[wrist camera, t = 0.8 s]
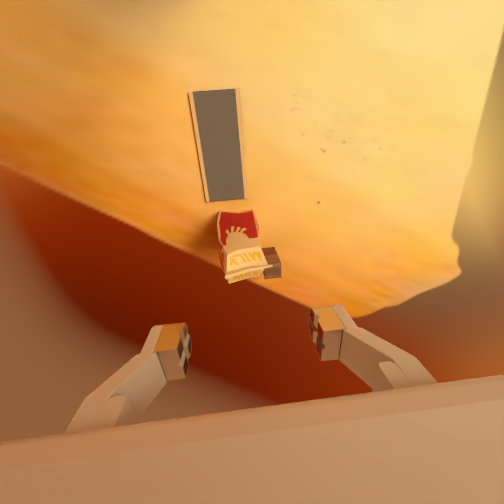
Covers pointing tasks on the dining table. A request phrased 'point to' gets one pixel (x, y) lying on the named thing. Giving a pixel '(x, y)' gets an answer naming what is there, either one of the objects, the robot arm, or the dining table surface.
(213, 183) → the strip
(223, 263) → the milk carton
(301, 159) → the dining table surface
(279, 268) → the walnut block
